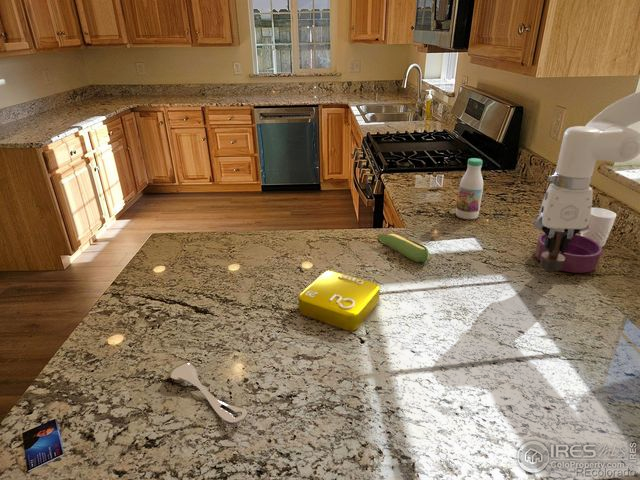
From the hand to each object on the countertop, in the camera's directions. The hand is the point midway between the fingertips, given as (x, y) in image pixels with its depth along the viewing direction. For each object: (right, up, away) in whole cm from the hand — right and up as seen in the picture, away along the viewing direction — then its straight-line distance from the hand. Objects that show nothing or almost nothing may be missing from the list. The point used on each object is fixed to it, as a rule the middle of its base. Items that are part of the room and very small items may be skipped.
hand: (554, 250), depth 108 cm
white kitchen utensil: (-79, -25, -33) cm, 90 cm away
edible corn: (-36, -1, +17) cm, 39 cm away
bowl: (+9, -3, +11) cm, 15 cm away
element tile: (-55, -13, -8) cm, 57 cm away
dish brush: (0, -4, +2) cm, 5 cm away
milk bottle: (-8, +11, +41) cm, 43 cm away
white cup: (+23, +1, +21) cm, 31 cm away
